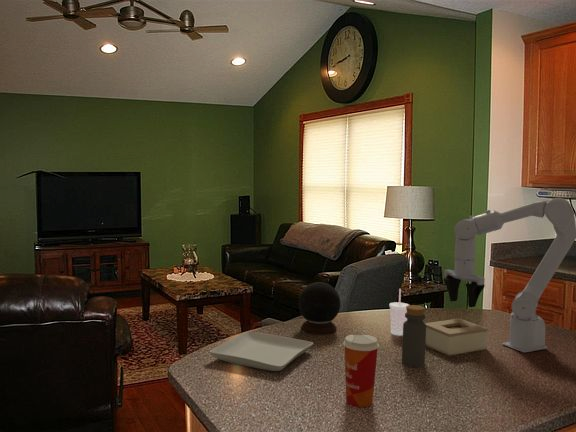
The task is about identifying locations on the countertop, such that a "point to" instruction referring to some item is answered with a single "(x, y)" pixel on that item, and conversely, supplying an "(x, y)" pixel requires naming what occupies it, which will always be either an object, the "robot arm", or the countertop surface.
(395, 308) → the beverage cup
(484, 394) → the countertop surface
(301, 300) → the black ball on stand
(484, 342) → the cream box with slot
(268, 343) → the salad plate
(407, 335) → the bottle
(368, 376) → the paper cup
